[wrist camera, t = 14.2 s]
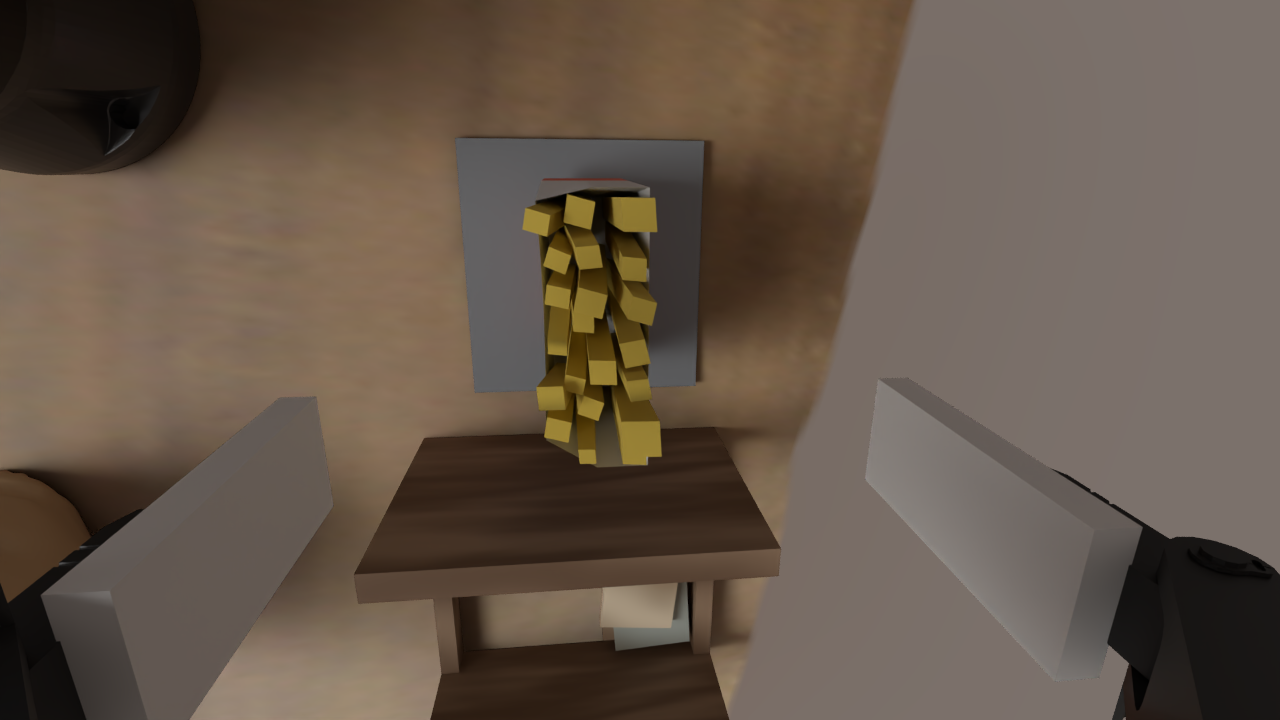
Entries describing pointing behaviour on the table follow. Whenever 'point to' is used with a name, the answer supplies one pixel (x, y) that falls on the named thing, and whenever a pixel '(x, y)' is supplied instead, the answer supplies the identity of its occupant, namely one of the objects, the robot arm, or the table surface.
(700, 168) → the slate mat
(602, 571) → the offcut rack
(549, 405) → the french fries container
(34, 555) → the container
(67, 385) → the table surface
